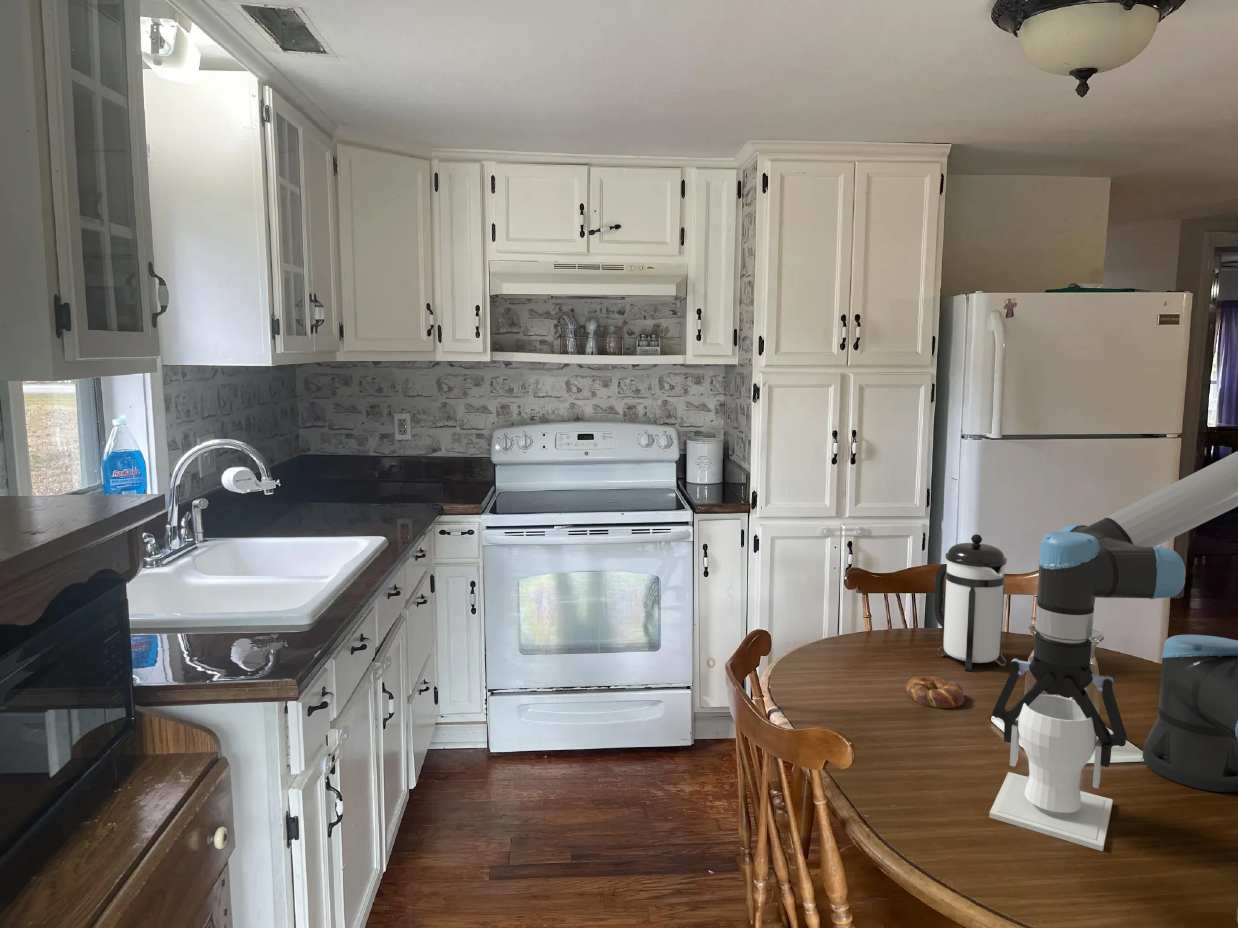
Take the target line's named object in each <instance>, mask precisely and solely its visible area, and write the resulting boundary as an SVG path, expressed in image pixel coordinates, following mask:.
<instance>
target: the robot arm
mask: <svg viewBox="0 0 1238 928" xmlns="http://www.w3.org/2000/svg"><path fill="white" fill-rule="evenodd" d="M1237 507H1238V450H1237V451H1235V452H1233V453H1231V454H1229V455H1227V456H1225V457H1224V458H1221V459H1220V460H1217V461H1215V462H1214V463H1211V464H1209V465H1207V466H1205V467H1204V468H1201V469H1200V470H1197V471H1196V472H1193V473H1192V474H1190V475H1187V476H1185V477H1184V478H1182V479H1180V480H1179V479H1178V480H1177V481H1176V482H1173V483H1171V484H1170V485H1168V486H1166V487H1164V488H1162V489H1160V490H1158V491H1156V492H1154V493H1152V494H1150V495H1148V496H1145V497H1144V498H1142V499H1140V500H1138V501H1136V502H1134V503H1132V504H1130V505H1128V506H1126V507H1124V508H1122V509H1120V510H1118V511H1116V512H1114V513H1112V514H1109V515H1108V516H1107V517H1104V518H1103V519H1100V520H1099V521H1097V522H1094V523H1092V524H1090V525H1085V524H1071V525H1067V526H1065V527H1063V528H1062V529H1061V530H1059V531H1051V532H1048V533H1046V534H1045V535H1044V536H1043V537H1042V540H1041V545H1040V549H1039V558H1038V560H1037V563H1038V583H1037V584H1038V585H1037V600H1036V611H1035V612H1036V613H1035V625H1034V626H1035V630H1036V631H1037V632H1036V633H1035V634H1034V644H1033V645H1034V647H1033V658H1032V661H1024V660H1021V658H1019V657H1013V658H1012V660H1011V662H1010V663H1009V676H1008V677H1007V680H1006V682H1005V684H1004V686H1003V689H1002V691H1001V692H1000V695H999V697H998V699H997V701H996V703H995V706H994V708H993V710H992V712H991V714H992V716H993V717H994V718H996V719H997V718H998V719H1000V720H1002V721H1003V723H1004V724H1003V725H1004V728H1003V741H1004V742H1005V743H1007V744H1010V750H1009V751H1010V753H1009V766H1011V767H1016V765H1017V763H1018V760H1019V747H1020V735H1019V732H1018V719H1019V715H1020V713H1021V710H1022V707H1023V704H1024V703H1026V705H1027V706H1029V705H1030V704H1031V703H1032V702H1033V701H1034V699H1035V698H1036V697H1037V696H1039V695H1042V693H1043V692H1045V693H1046V695H1053V696H1060V697H1065V698H1069V699H1071V698H1073V700H1075V701H1076V703H1077V704H1078V705H1079V706H1080V708H1081V710H1082V711H1083V713H1084V715H1085V717H1086V718H1090V717H1091V718H1092V721H1093V726H1094V731H1095V734H1096V735H1097V741H1096V746H1095V749H1094V758H1093V759H1094V761H1093V776H1092V788H1095V789H1099V788H1100V787H1099V786H1100V783H1101V774H1102V773H1101V772H1102V767H1105V768H1109V766H1110V765H1111V757H1112V748H1113V747H1115V746H1116V747H1117V746H1119V747H1125V746H1126V743H1127V738H1128V737H1127V732H1126V730H1125V726H1124V724H1123V720H1122V717H1121V714H1120V710H1119V707H1118V704H1117V701H1116V698H1115V693H1114V683H1115V678H1114V677H1113V675H1111V674H1107V675H1105V676H1104V675H1098V674H1094V673H1093V671H1092V670H1091V658H1092V645H1093V644H1092V641H1091V639H1090V638H1091V637H1093V627H1094V614H1095V613H1094V611H1095V603H1096V598H1100V599H1101V598H1104V599H1105V598H1106V599H1108V598H1109V599H1113V598H1115V599H1117V598H1118V599H1149V600H1155V599H1163V598H1164V599H1166V598H1173V597H1175V596H1178V595H1179V594H1180V593H1181V592H1182V590H1183V589H1184V586H1185V583H1186V574H1187V573H1186V567H1185V563H1184V561H1183V559H1182V556H1180V554H1179V553H1178V552H1177V551H1175V550H1174V549H1172V548H1169V547H1159V546H1160V545H1161V544H1163V543H1166V542H1167V541H1170V540H1171V539H1174V538H1176V537H1178V536H1181V535H1182V534H1184V533H1186V532H1187V531H1190V530H1192V529H1194V528H1196V527H1198V526H1200V525H1202V524H1205V523H1207V522H1209V521H1210V520H1213V519H1214V518H1216V517H1218V516H1220V515H1223V514H1225V513H1227V512H1229V511H1231V510H1233V509H1236V508H1237ZM1161 659H1162V660H1161V672H1160V674H1161V675H1160V684H1159V685H1160V686H1159V687H1160V688H1159V700H1158V710H1157V711H1158V712H1157V713H1158V714H1157V718H1156V720H1155V722H1154V723H1153V725H1152V728H1151V730H1150V732H1149V734H1148V736H1146V739H1145V741H1144V744H1143V746H1142V760H1143V759H1144V761H1143V762H1144V764H1145V765H1146V766H1147V767H1148V768H1149V769H1151V770H1152V771H1153V772H1155V773H1156V774H1159V776H1162V777H1164V778H1165V779H1168V780H1170V781H1173V782H1175V783H1179V784H1180V785H1184V786H1187V787H1192V788H1196V789H1199V790H1204V791H1210V792H1219V793H1234V792H1235V793H1236V792H1238V640H1235V639H1232V638H1226V637H1220V636H1214V635H1213V636H1212V635H1206V634H1205V635H1202V634H1178V635H1173V636H1170V637H1168V638H1167V639H1166V640H1165V641H1164V645H1163V651H1162V654H1161ZM1027 671H1029V672H1030V674H1031V675H1032V676H1033V678H1034V679H1035V682H1034V683H1033V685H1032V686H1031V687H1030V688H1029V689H1028V690H1027V692H1025V694H1024V695H1023V696H1021V698H1020V699H1019V700H1018V701H1017V702H1016V704H1014V705H1013V707H1011V709H1010V710H1007V709H1005V708H1006V705H1007V704H1008V701H1009V699H1010V698H1011V694H1012V693H1013V691H1014V689H1015V687H1016V684H1017V682H1018V681H1019V678H1020V676H1024V675H1025V674H1026V672H1027ZM1092 683H1093V684H1094V685H1095V687H1096V689H1097V690H1098V692H1101V696H1102V697H1101V698H1102V700H1103V704H1104V708H1105V711H1106V714H1107V717H1108V721H1109V724H1110V728H1111V731H1112V733H1111V732H1110V731H1109V729H1108V727H1107V726H1106V724H1105V722H1104V719H1102V717H1101V715H1100V713H1099V712H1098V711H1097V709H1096V707H1095V706H1094V704H1093V702H1092V700H1091V699H1090V697H1089V694H1088V693H1089V692H1087V690H1086V688H1087V687H1088V686H1089V685H1090V684H1092Z"/></svg>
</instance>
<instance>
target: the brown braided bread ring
mask: <svg viewBox="0 0 1238 928" xmlns="http://www.w3.org/2000/svg"><path fill="white" fill-rule="evenodd" d="M905 692H906V694H907V696H908V698H909V699H910V700H912V701H913V702H914V701H915V702H917V703H919V705H921V706H925V707H931V708H938V709H950V708H957V707H960V706H962V705H963V704H964V702H965V696H964V691H963V688H962V686H961V685H959V684H958V683H957V682H955V681H946V680H945V679H943V678H942V677H941V678H940V677H939V676H935V675H934V676H933V675H932V676H926V675H924V676H923V675H919V676H914V677H912V678H911V679H909V680H908V681H907V683H906V684H905Z"/></svg>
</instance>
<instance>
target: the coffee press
mask: <svg viewBox="0 0 1238 928" xmlns="http://www.w3.org/2000/svg"><path fill="white" fill-rule="evenodd" d="M970 539H971V542H963V543H961V542H960V543H957V544H954V545H953V546H951V547H950V548H949V549H948V551H947V552H946V553H945V560H946V563H945V564H941V565H940V566H939V567H938V569H937V571H936V573H935V575H936V576H935V582H934V583H935V585H934V604H933V605H934V607H933V608H934V617H935V619H936V620H937V623H938V624H939V625H940V627H941V628H942V641H941V642H942V644H941V646H940V647H939V648H938V649H937V650H936V656H937V657H938V658H943V657H944V656H945V655H948V656H950V657H952V658H953V659H956V660H959V661H963V662H965V664H964V665H965V666H964V670H965V671H966V672H972V670H973V663H976V664H981V663H982V664H983V663H984V664H985V663H990V662H991V663H992V662H995V663H997V665H998V666H1000V667H1006V665H1007V660H1006V658H1005V657H1004V655H1003V653H1002V646H1001V644H1002V643H1003V642H1002V640H1003V626H1002V625H1003V623H1004V622H1003V619H1004V618H1003V617H1004V608H1003V606H1004V603H1005V601H1004V599H1005V589H1004V587H1005V582H1006V580H1005V579H1006V575H1005V566H1006V565H1007V562H1008V559H1007V558H1006V557H1005V554H1004V553H1003V551H1002V550H1001V549H1000V548H999V547H997V546H993V545H991V544H985V543H982V541H983V538H982V536H981V535H980V534H977V533H976V534H973V535H972V536H971V538H970ZM944 581H945V582H944ZM942 648H943V650H944V653H942V654H939V653H938V652H939V651H941V649H942ZM999 656H1000V657H1001V659H1002V660H1003V662H1004V663H1001V662H1000V661H999V660H997V659H998V658H999Z"/></svg>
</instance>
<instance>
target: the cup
mask: <svg viewBox="0 0 1238 928" xmlns="http://www.w3.org/2000/svg"><path fill="white" fill-rule="evenodd" d="M1017 720H1018V732H1019V740H1020V743H1021V745H1022V748H1023V750H1024V752H1025V753H1026V756H1027V761H1028V772H1029V773H1028V776H1027V777H1028V780H1027V783H1026V788H1025V793H1024V794H1025V797H1026V798H1027V799H1028V800H1029V801H1030V802H1031V803H1033V804H1034V805H1036V806H1038V807H1040V808H1043V809H1046V810H1049V811H1053V812H1060V813H1071V812H1075V811H1078V810H1079V809H1080V808H1081V796H1080V791H1081V790H1080V778H1081V774H1082V771H1083V770H1082V769H1083V768H1084V767H1085V766H1086V765H1087V764H1088V762H1089V761H1090V759H1091V758H1092V755H1093V754H1094V753H1095V746H1096V742H1097V739H1098V737H1097V735H1096V734H1095V731H1094V726H1093V721H1092V718H1091V717H1090V718H1086V717H1085V715H1084V713H1083V711H1082V710H1081V708H1080V706H1079V705H1078V704H1077V703H1076V701H1075V700H1074V699H1071V698H1066V697H1063V696H1060V695H1051V694H1040V695H1039V696H1037V697H1036V698H1035V699H1034V701H1033V702H1032V703H1031V704H1030V705H1029V706H1027V705H1026V703H1024V704H1023V707H1022V710H1021V713H1020V715H1019V717H1018V718H1017Z"/></svg>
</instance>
